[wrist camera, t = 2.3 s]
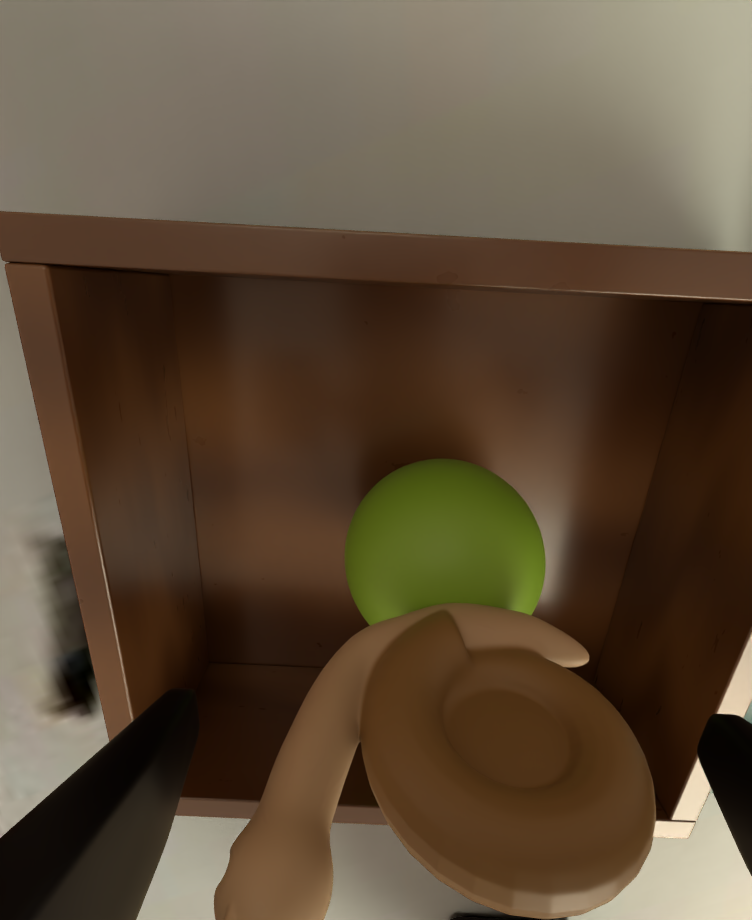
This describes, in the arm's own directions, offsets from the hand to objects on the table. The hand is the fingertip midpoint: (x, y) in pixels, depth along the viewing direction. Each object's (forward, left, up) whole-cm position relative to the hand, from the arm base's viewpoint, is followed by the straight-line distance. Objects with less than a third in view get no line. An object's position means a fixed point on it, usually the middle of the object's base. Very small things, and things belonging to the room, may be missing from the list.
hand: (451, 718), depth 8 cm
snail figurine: (0, 0, -8) cm, 8 cm away
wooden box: (0, 0, -8) cm, 8 cm away
